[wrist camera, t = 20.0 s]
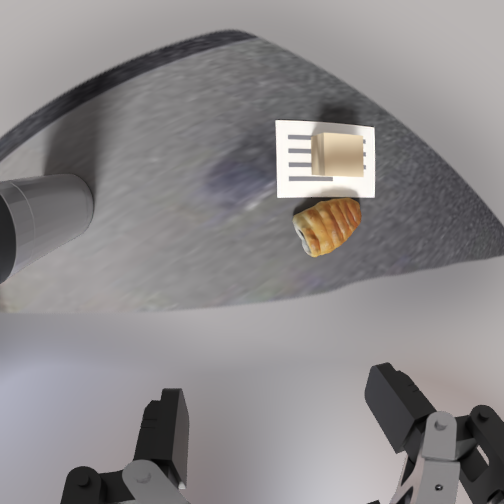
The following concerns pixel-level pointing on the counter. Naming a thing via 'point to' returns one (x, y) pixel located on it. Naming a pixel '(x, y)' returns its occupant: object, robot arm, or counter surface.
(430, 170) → the counter surface
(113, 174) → the counter surface
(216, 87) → the counter surface
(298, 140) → the letter
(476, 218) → the counter surface
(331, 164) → the maple cube
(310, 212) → the pastry
